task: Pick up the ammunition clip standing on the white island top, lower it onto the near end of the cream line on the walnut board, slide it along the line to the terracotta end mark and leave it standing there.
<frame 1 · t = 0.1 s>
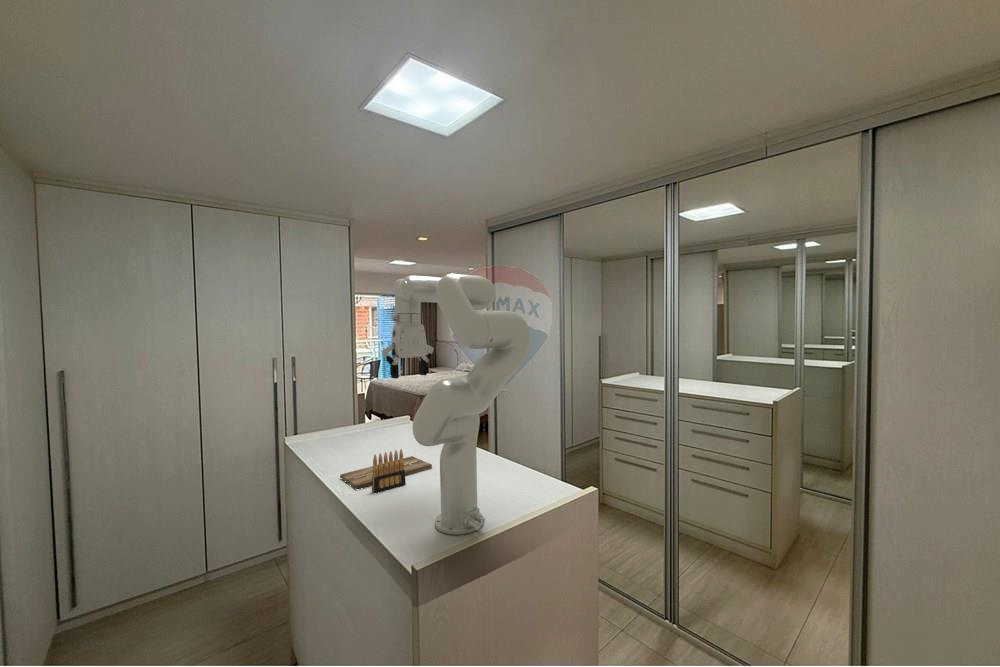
hand: (409, 376, 124), 37 cm above the table, tool pointing down, fingers open, 9 cm apart
walnut board: (387, 473, 145), on the table
ammunition clip: (389, 489, 131), on the table
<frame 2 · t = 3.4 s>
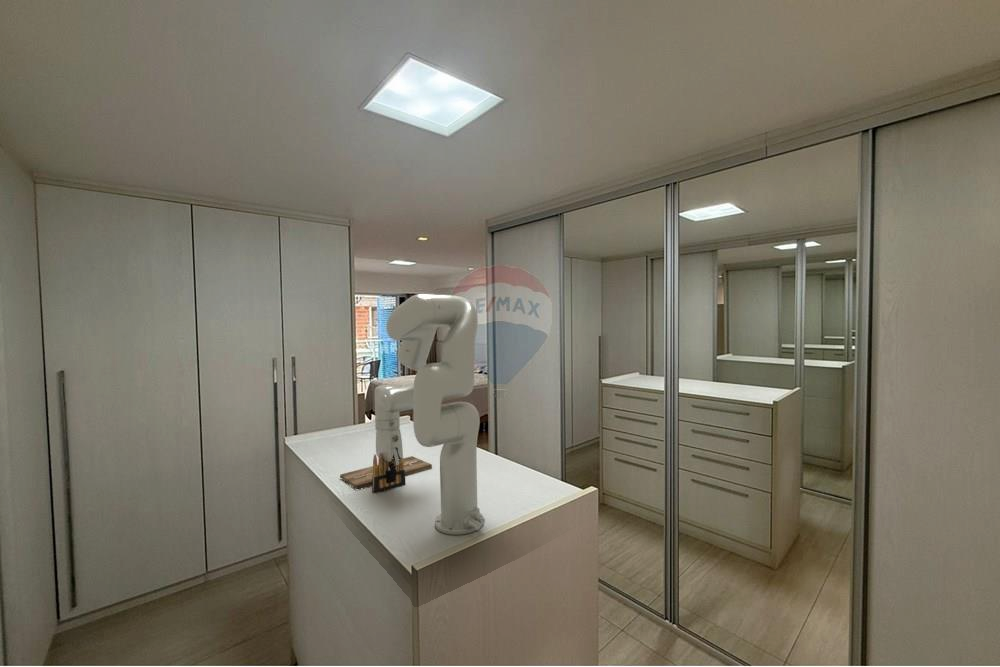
hand: (389, 480, 131), 3 cm above the table, tool pointing down, fingers closed on ammunition clip, 2 cm apart
ammunition clip: (389, 489, 131), on the table, touching gripper
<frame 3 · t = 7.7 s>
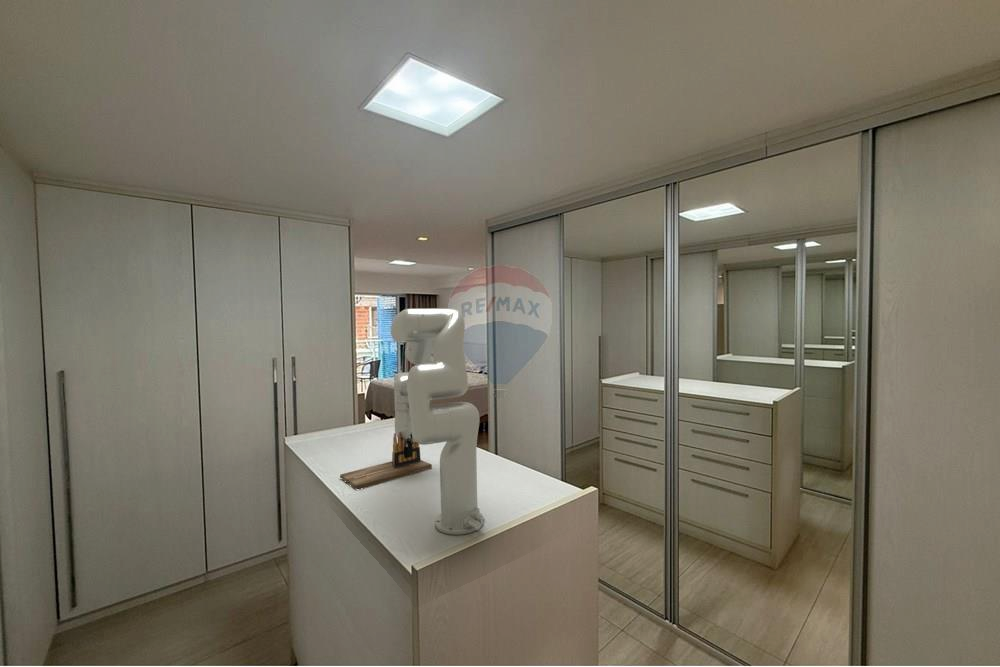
hand: (406, 456, 150), 4 cm above the table, tool pointing down, fingers closed on ammunition clip, 2 cm apart
ammunition clip: (406, 463, 150), point 2 cm above the table, touching gripper
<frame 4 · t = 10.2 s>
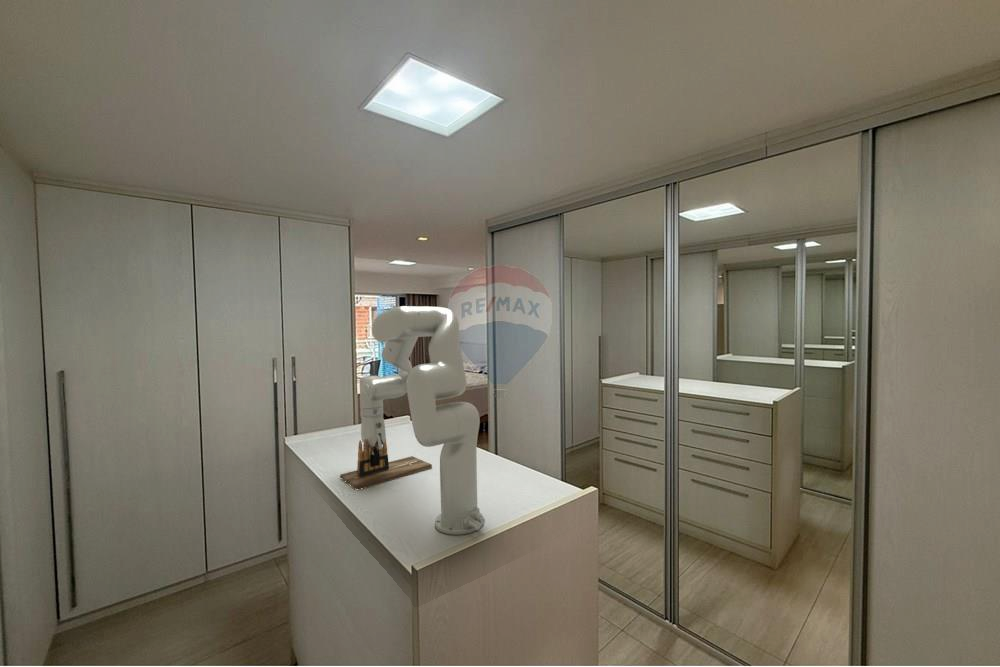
hand: (373, 464, 141), 5 cm above the table, tool pointing down, fingers closed on ammunition clip, 2 cm apart
ammunition clip: (373, 472, 141), point 2 cm above the table, touching gripper
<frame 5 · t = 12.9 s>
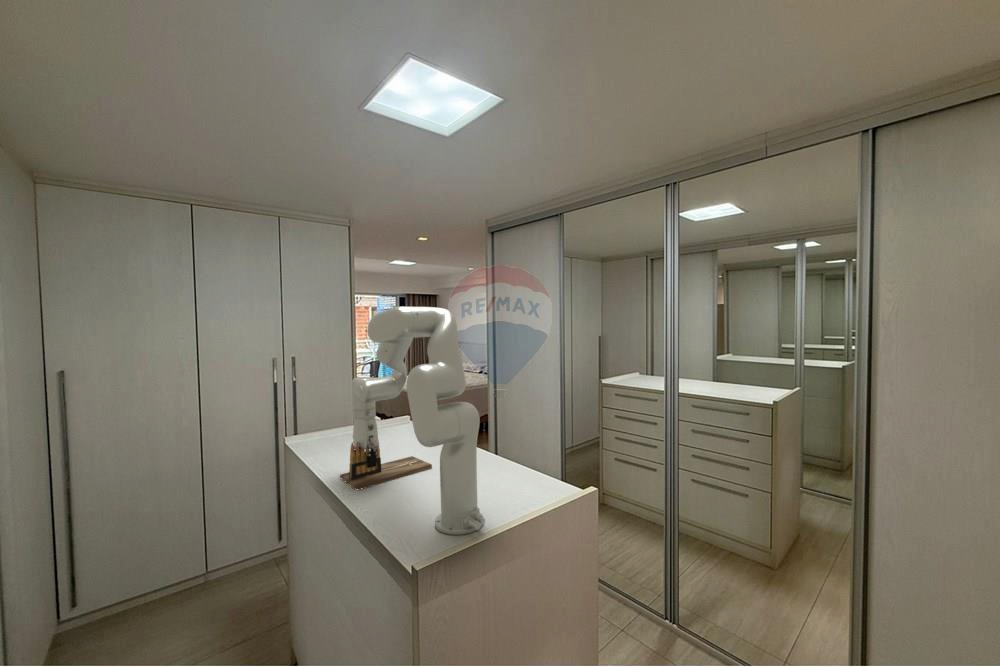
hand: (365, 463, 139), 6 cm above the table, tool pointing down, fingers open, 9 cm apart
ammunition clip: (365, 475, 139), point 1 cm above the table, touching walnut board
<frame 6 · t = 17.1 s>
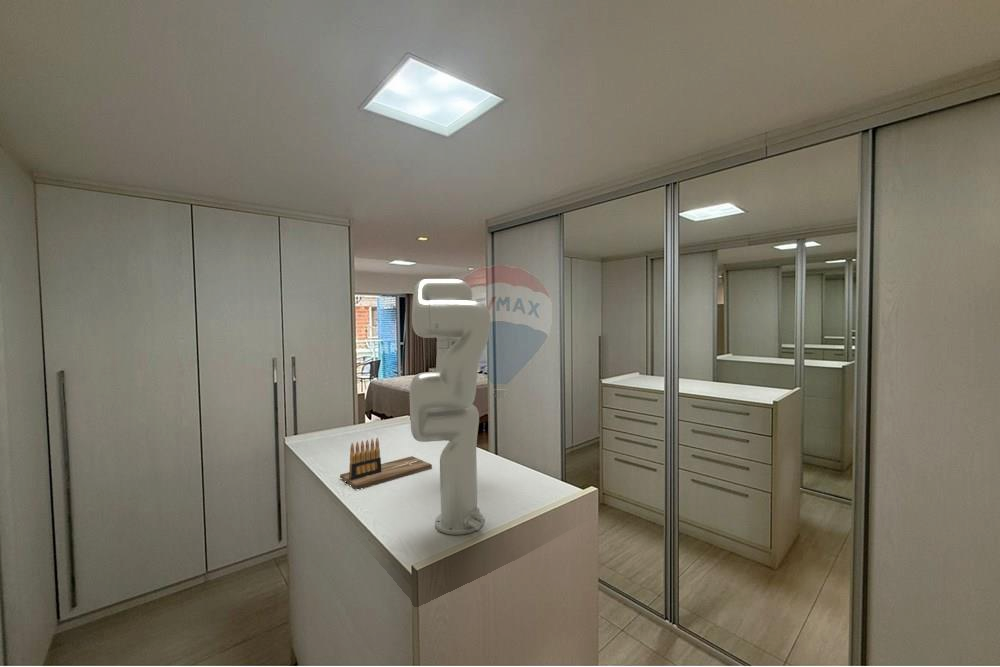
hand: (449, 396, 136), 28 cm above the table, tool pointing down, fingers open, 9 cm apart
nothing on the table moved.
at the end: ammunition clip 0.2 cm from the target spot on the walnut board, point 1.4 cm above the walnut board's base; ammunition clip tilted 0°; the gripper is holding nothing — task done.
